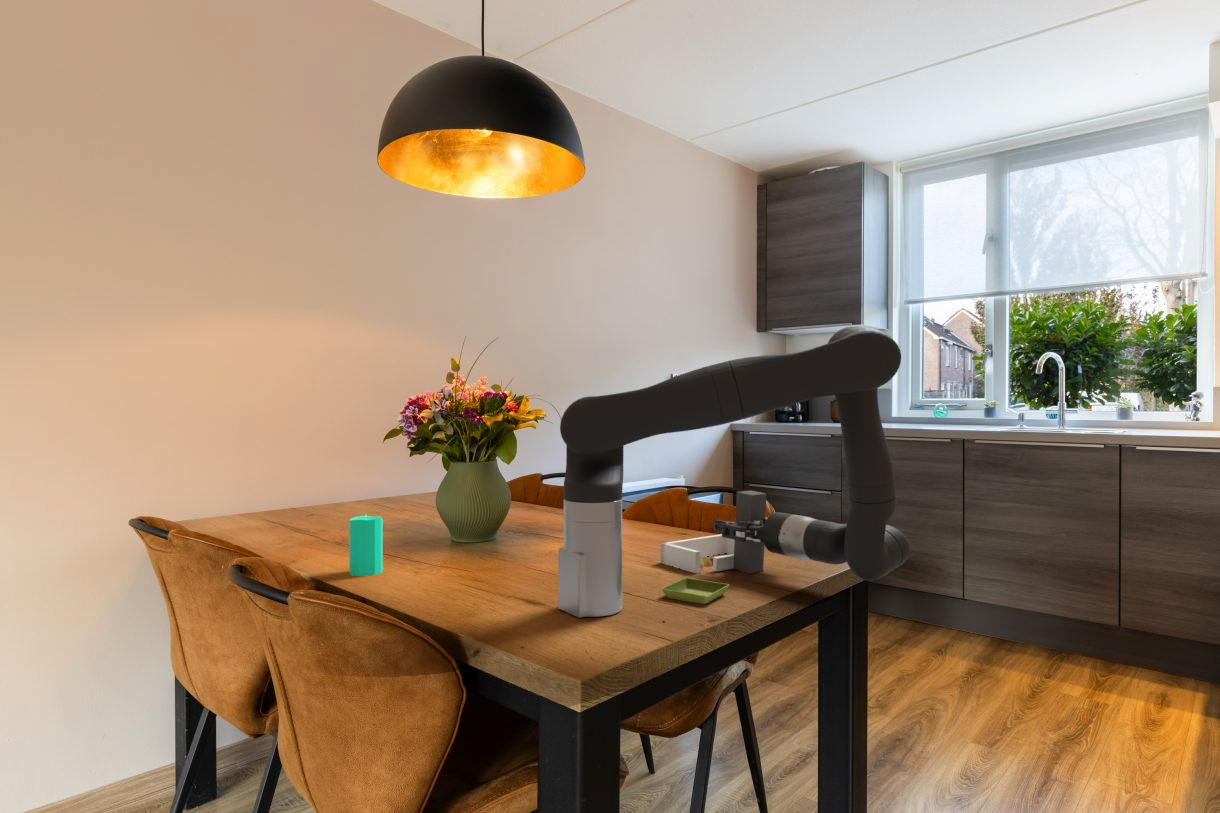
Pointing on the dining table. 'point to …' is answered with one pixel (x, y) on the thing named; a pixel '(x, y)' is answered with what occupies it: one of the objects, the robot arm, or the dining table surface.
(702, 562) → the chocolate bar
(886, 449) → the robot arm
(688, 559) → the white walled enclosure
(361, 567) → the candle
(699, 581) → the green square dish
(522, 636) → the dining table surface
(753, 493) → the grey upright piece
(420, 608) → the dining table surface
